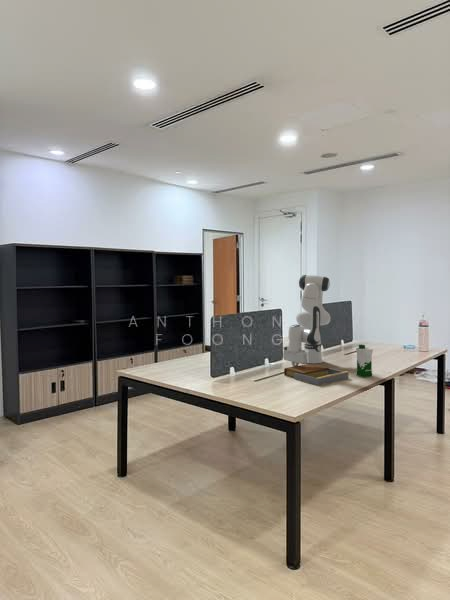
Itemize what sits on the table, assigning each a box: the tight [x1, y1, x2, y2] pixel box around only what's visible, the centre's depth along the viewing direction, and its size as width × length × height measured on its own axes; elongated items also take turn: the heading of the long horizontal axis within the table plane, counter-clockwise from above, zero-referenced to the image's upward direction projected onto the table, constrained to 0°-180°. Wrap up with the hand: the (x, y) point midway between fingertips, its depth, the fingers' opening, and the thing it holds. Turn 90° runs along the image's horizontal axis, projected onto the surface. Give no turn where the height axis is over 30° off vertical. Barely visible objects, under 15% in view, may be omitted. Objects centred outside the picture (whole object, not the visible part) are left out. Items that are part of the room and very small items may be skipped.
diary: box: [283, 363, 330, 379], centre depth 278 cm, size 23×19×6 cm
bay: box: [293, 367, 350, 386], centre depth 268 cm, size 20×28×5 cm
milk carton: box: [355, 344, 374, 378], centre depth 274 cm, size 9×9×20 cm
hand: (295, 368), depth 287 cm, fingers closed
